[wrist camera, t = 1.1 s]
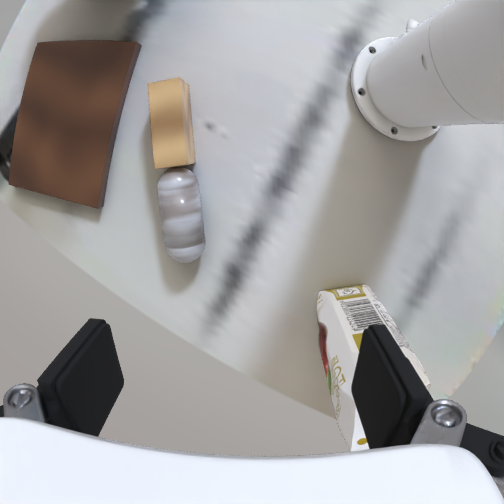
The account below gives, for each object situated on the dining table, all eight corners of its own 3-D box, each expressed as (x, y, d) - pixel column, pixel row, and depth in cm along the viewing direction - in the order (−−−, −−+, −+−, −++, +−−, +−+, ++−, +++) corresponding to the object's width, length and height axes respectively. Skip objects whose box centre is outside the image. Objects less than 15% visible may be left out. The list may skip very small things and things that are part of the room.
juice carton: (371, 275, 37) (441, 373, 19) (370, 334, 40) (420, 441, 22) (311, 284, 38) (346, 396, 19) (315, 343, 40) (341, 460, 22)
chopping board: (43, 44, 28) (37, 42, 27) (141, 45, 29) (137, 41, 28) (14, 182, 34) (8, 184, 33) (103, 206, 35) (97, 208, 34)
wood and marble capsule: (155, 90, 31) (141, 83, 27) (193, 83, 31) (184, 75, 26) (174, 256, 37) (163, 269, 33) (210, 253, 37) (203, 267, 33)
